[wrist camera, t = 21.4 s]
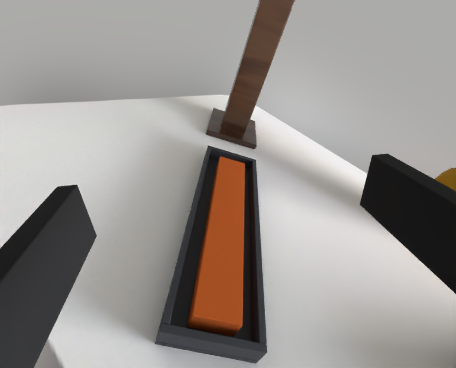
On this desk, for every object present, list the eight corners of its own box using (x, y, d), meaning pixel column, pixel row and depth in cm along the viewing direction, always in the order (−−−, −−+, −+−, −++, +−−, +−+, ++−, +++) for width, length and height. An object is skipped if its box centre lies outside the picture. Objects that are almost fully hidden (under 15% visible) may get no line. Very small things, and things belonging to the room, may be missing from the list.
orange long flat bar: (233, 337, 21) (242, 325, 19) (186, 327, 20) (192, 315, 19) (240, 174, 40) (244, 163, 39) (216, 167, 40) (220, 155, 38)
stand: (254, 151, 49) (342, -54, 31) (205, 136, 47) (267, -87, 30) (253, 123, 60) (317, -40, 42) (213, 110, 59) (261, -64, 41)
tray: (256, 363, 20) (267, 352, 19) (154, 344, 19) (159, 331, 18) (251, 170, 43) (255, 159, 42) (204, 157, 42) (208, 145, 40)
